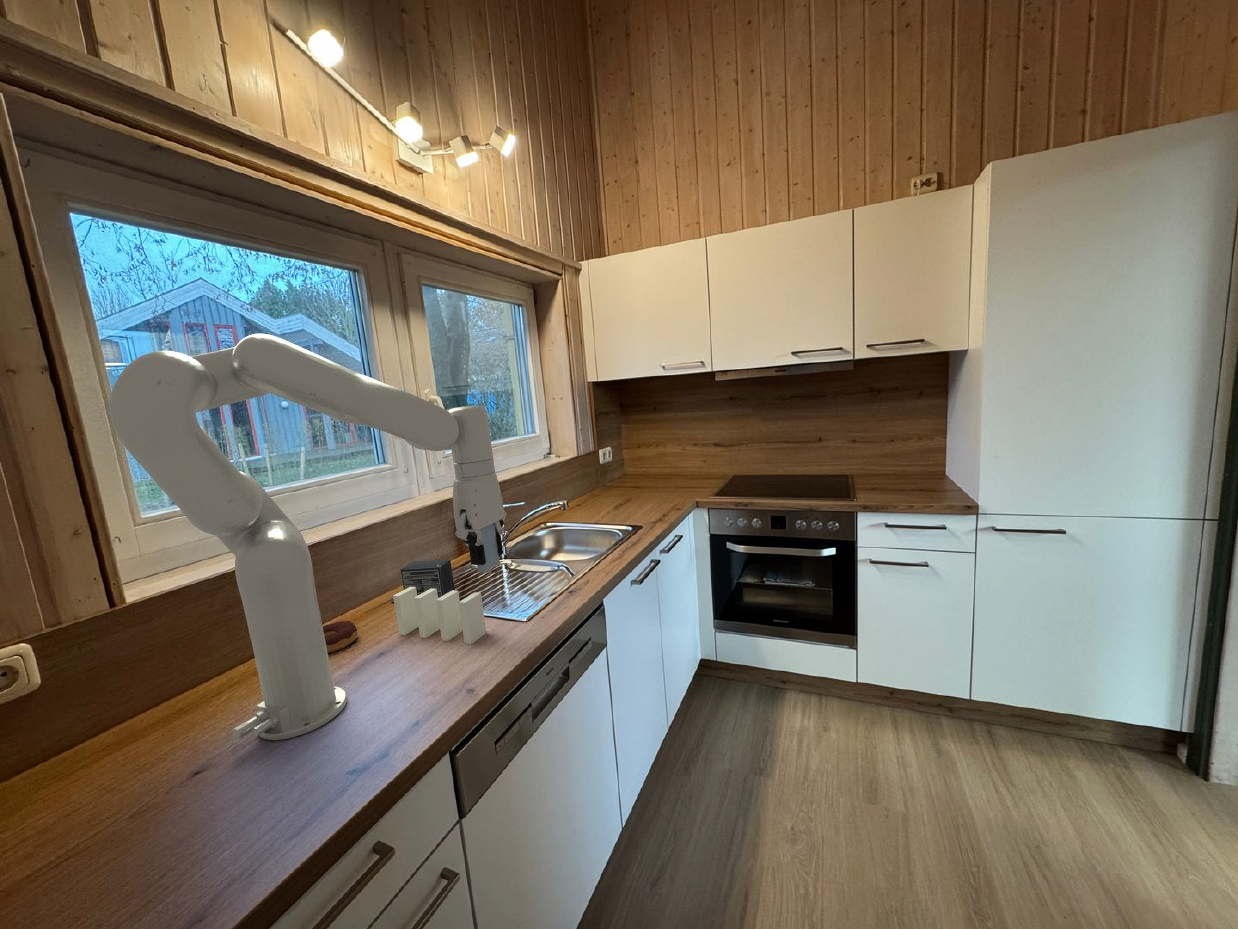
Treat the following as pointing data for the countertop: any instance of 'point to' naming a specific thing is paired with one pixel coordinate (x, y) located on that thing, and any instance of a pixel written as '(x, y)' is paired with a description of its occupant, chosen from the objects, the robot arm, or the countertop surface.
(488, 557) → the domino
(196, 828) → the countertop surface
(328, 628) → the donut
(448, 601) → the domino
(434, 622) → the domino
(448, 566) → the small box
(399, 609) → the domino
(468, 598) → the domino
